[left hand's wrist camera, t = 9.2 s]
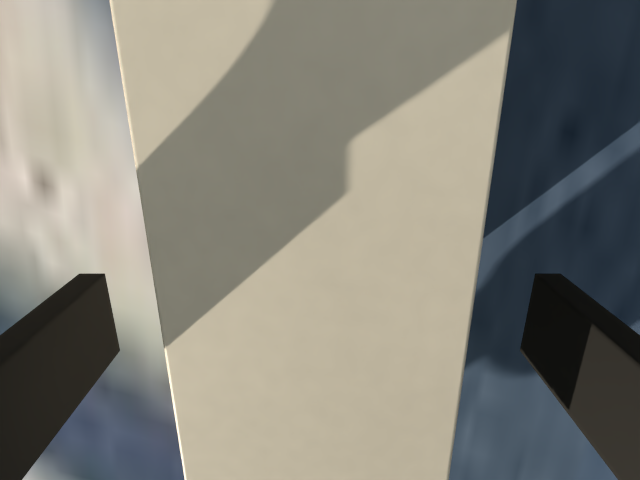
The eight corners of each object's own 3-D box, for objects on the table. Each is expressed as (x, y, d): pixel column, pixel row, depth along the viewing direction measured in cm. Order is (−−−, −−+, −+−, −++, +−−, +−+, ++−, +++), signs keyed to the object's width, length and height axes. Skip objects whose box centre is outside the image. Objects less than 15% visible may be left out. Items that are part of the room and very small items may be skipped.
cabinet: (231, -57, 15) (50, -350, 5) (402, -58, 15) (571, -352, 5) (255, 316, 21) (192, 541, 11) (381, 316, 21) (441, 540, 11)
